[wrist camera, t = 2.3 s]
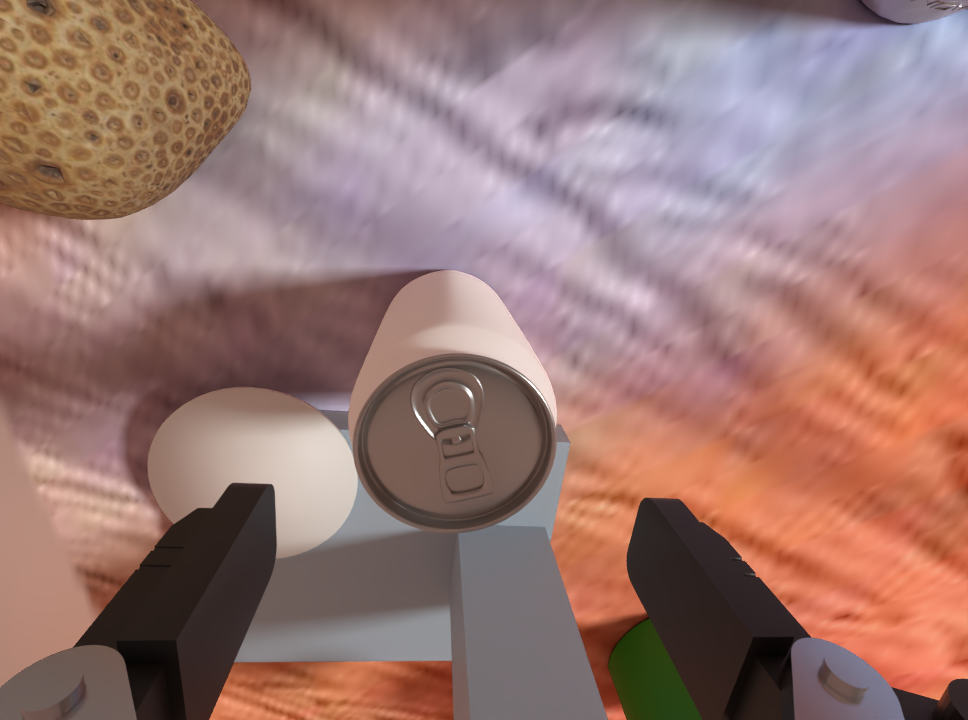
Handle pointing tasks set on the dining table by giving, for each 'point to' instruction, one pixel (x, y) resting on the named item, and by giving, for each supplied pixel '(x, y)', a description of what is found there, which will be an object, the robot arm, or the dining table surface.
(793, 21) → the dining table surface
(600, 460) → the dining table surface
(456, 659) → the press
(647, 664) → the motor
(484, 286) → the can
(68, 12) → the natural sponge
